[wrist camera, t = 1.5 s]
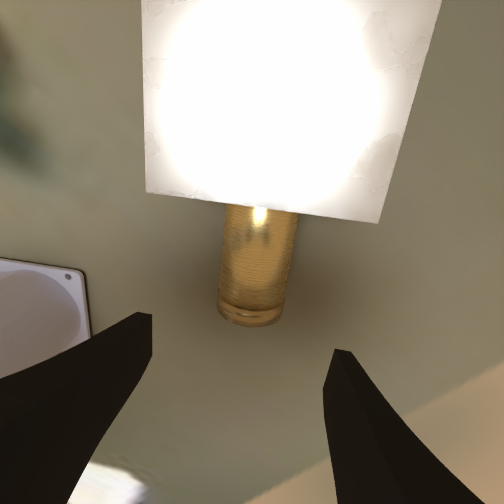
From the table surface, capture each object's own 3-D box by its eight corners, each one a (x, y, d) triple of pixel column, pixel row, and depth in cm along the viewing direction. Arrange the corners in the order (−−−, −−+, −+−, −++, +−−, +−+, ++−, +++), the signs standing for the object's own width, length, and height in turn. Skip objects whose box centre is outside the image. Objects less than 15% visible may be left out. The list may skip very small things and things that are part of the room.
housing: (190, 176, 18) (145, 192, 12) (195, 25, 15) (140, -48, 9) (346, 196, 18) (378, 223, 12) (382, 44, 15) (448, -22, 9)
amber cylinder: (224, 286, 20) (209, 320, 16) (239, 111, 16) (225, 101, 12) (282, 295, 20) (281, 332, 16) (313, 120, 16) (322, 112, 12)
